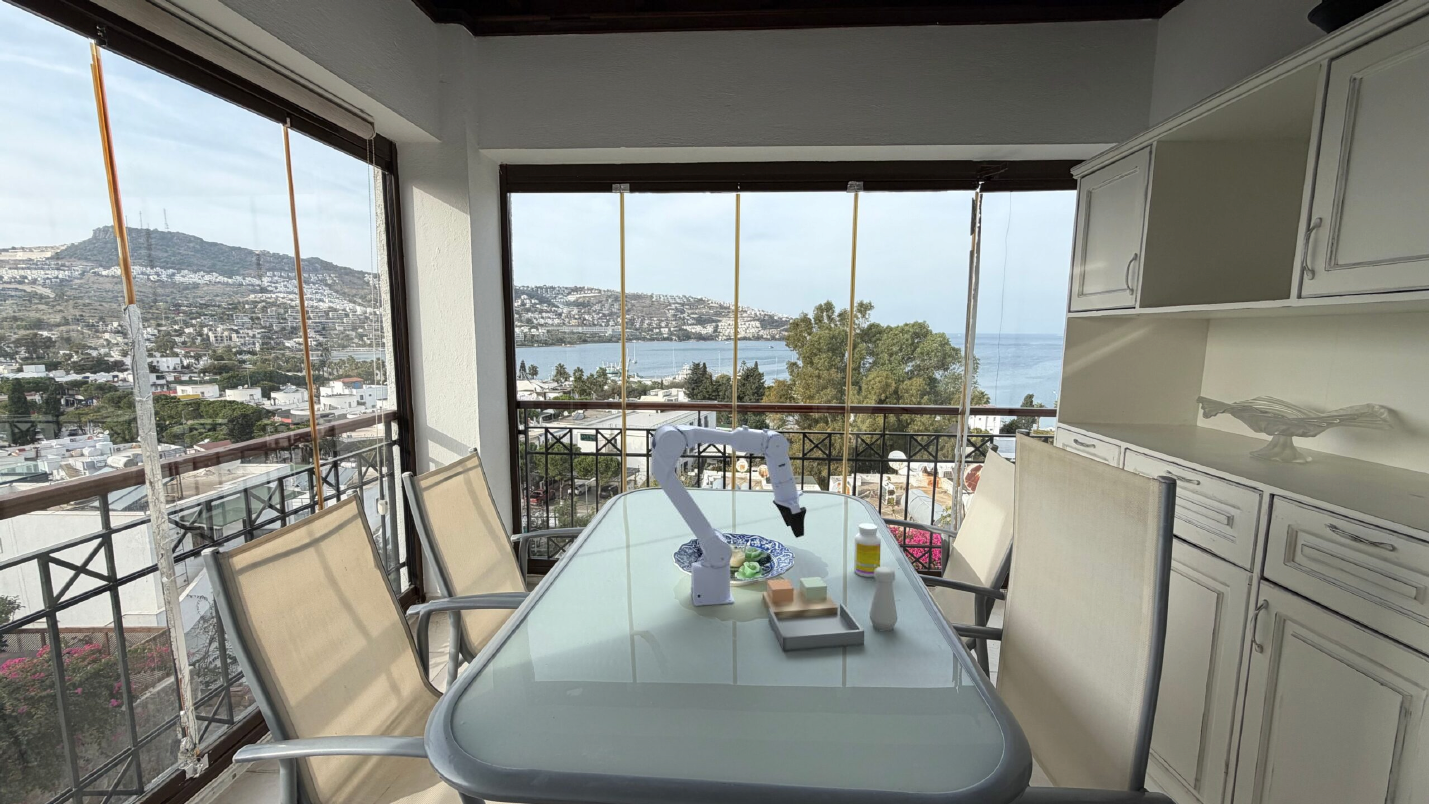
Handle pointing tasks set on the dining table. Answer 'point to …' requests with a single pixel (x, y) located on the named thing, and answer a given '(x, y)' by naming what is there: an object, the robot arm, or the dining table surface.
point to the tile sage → (813, 588)
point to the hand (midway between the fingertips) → (795, 530)
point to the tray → (817, 631)
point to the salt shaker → (883, 600)
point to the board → (800, 606)
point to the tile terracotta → (780, 590)
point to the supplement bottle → (867, 550)
